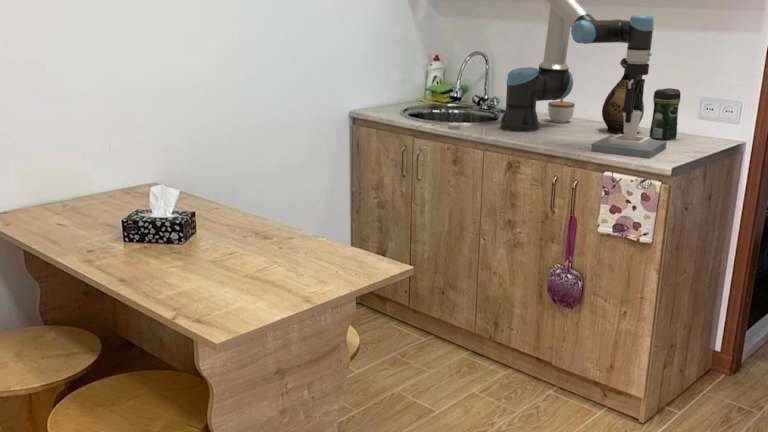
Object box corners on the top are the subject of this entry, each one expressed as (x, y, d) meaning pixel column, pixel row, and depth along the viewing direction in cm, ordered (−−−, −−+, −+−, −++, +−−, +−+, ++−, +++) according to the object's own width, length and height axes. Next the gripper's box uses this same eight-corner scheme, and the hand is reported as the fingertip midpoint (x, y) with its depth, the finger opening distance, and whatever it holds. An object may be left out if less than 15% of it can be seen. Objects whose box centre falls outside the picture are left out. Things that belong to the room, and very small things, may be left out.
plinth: (590, 150, 265) (591, 139, 264) (609, 141, 281) (610, 130, 280) (649, 158, 254) (651, 146, 253) (665, 148, 270) (667, 137, 269)
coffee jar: (662, 135, 294) (667, 86, 288) (679, 138, 287) (685, 88, 282) (645, 137, 289) (650, 88, 283) (662, 141, 282) (668, 90, 277)
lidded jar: (547, 118, 328) (549, 96, 325) (573, 120, 325) (575, 97, 322) (546, 122, 318) (547, 100, 315) (572, 124, 315) (574, 101, 312)
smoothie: (617, 137, 270) (621, 97, 265) (635, 137, 270) (639, 97, 266) (624, 141, 264) (628, 100, 259) (642, 141, 264) (646, 100, 260)
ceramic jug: (635, 137, 290) (644, 56, 281) (595, 132, 298) (602, 53, 289) (647, 130, 304) (655, 52, 295) (608, 126, 312) (615, 50, 303)
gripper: (640, 65, 249) (633, 135, 256) (656, 61, 265) (649, 127, 271) (617, 64, 253) (610, 133, 260) (634, 59, 269) (628, 125, 275)
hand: (630, 130), depth 266 cm, fingers closed on smoothie, 6 cm apart
